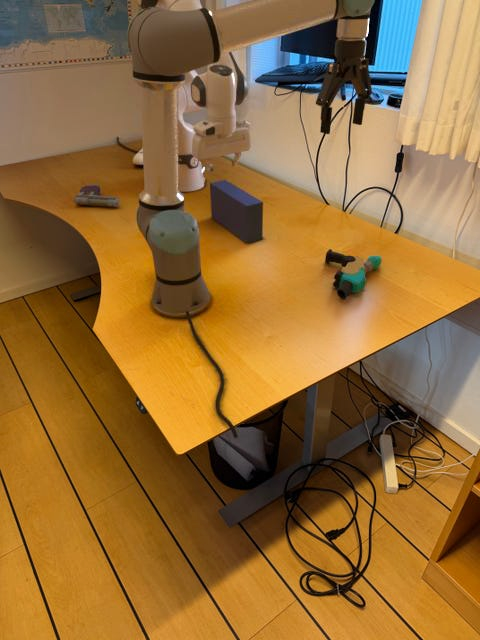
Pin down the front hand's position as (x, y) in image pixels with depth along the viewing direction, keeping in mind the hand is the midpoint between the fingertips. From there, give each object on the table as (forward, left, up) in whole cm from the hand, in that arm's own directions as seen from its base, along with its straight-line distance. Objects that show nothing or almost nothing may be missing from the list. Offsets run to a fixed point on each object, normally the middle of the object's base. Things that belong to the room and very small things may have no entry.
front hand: (341, 128), depth 130 cm
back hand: (+18, +35, -17) cm, 43 cm away
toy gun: (+32, +84, -36) cm, 97 cm away
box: (+11, +31, -36) cm, 48 cm away
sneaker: (+83, +76, -36) cm, 118 cm away
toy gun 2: (-21, -3, -36) cm, 41 cm away
